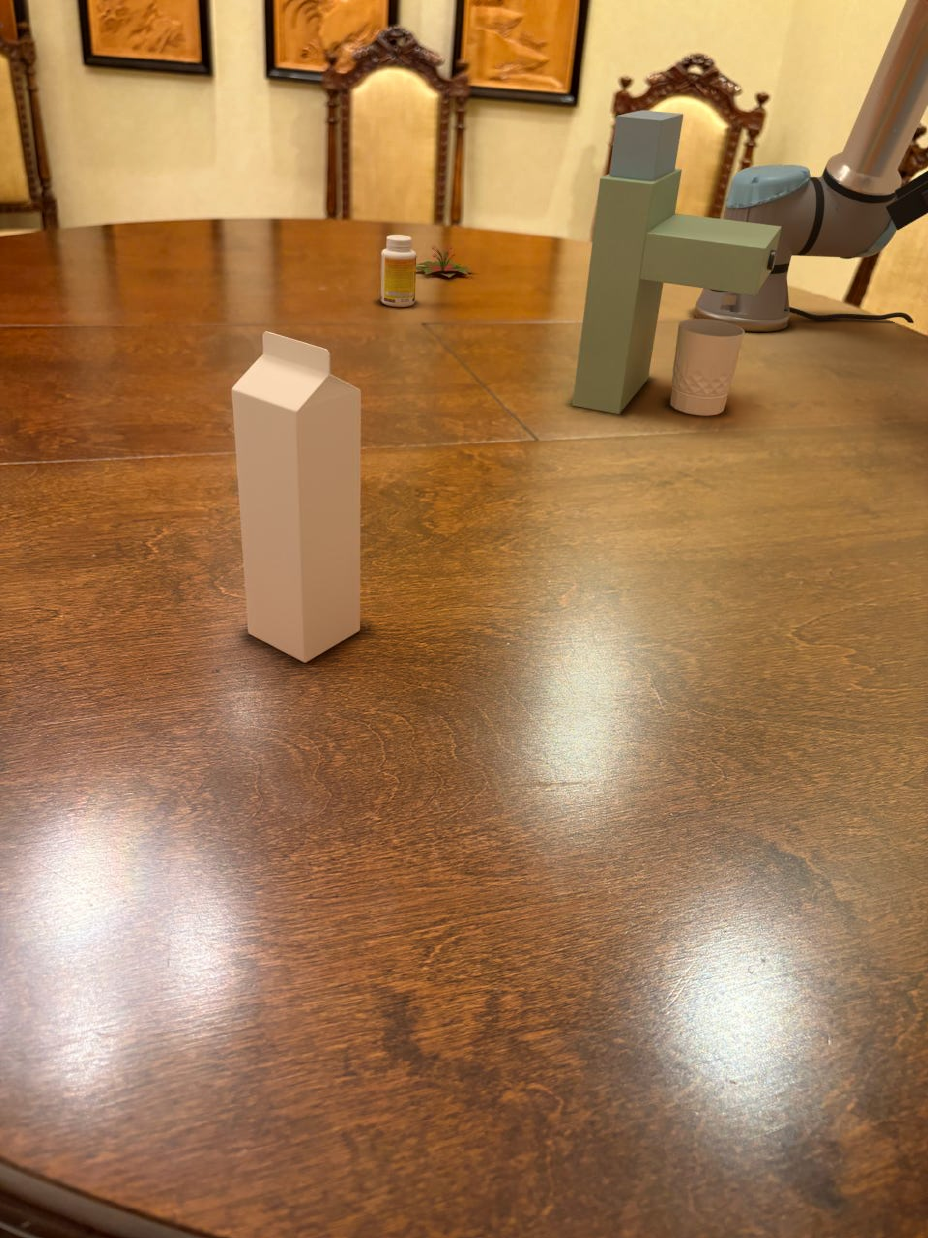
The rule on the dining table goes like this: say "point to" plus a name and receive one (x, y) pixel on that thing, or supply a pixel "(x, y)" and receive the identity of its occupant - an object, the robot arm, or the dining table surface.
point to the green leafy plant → (442, 265)
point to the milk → (299, 497)
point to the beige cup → (704, 365)
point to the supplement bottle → (398, 272)
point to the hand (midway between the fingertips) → (895, 209)
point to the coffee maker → (652, 258)
